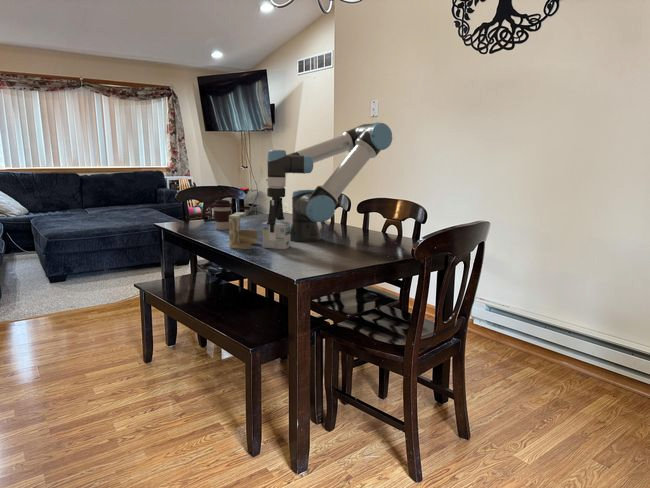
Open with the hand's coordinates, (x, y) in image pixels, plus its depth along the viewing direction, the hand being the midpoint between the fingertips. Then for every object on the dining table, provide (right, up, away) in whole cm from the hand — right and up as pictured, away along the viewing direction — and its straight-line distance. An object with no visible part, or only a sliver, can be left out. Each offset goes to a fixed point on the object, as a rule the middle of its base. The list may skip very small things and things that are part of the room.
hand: (275, 237), depth 194 cm
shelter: (-14, -4, +3) cm, 14 cm away
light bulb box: (0, -4, +1) cm, 5 cm away
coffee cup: (-32, +5, +44) cm, 55 cm away
